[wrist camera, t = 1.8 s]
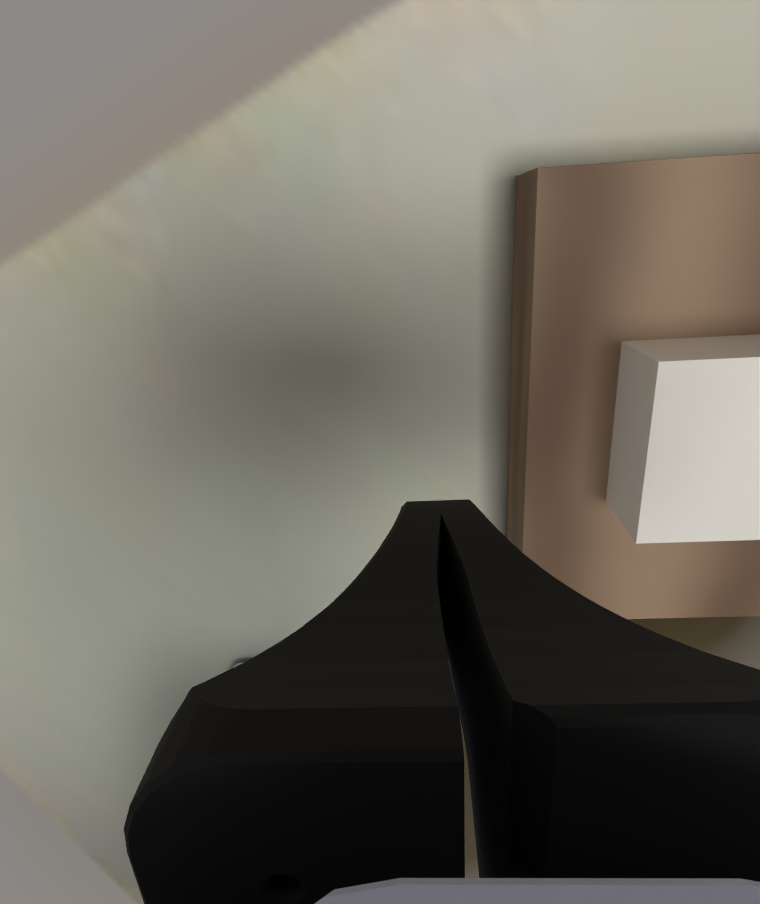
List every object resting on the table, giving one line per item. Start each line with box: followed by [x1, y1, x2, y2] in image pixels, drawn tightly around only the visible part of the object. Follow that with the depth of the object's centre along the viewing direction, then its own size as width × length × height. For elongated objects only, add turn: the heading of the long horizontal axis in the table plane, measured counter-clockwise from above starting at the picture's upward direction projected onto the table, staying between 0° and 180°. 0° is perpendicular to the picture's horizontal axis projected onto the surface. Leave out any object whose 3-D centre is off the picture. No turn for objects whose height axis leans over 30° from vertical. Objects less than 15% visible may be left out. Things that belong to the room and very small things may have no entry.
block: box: [606, 334, 760, 544], centre depth 16 cm, size 5×5×2 cm
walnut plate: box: [506, 153, 760, 619], centre depth 18 cm, size 14×14×3 cm
